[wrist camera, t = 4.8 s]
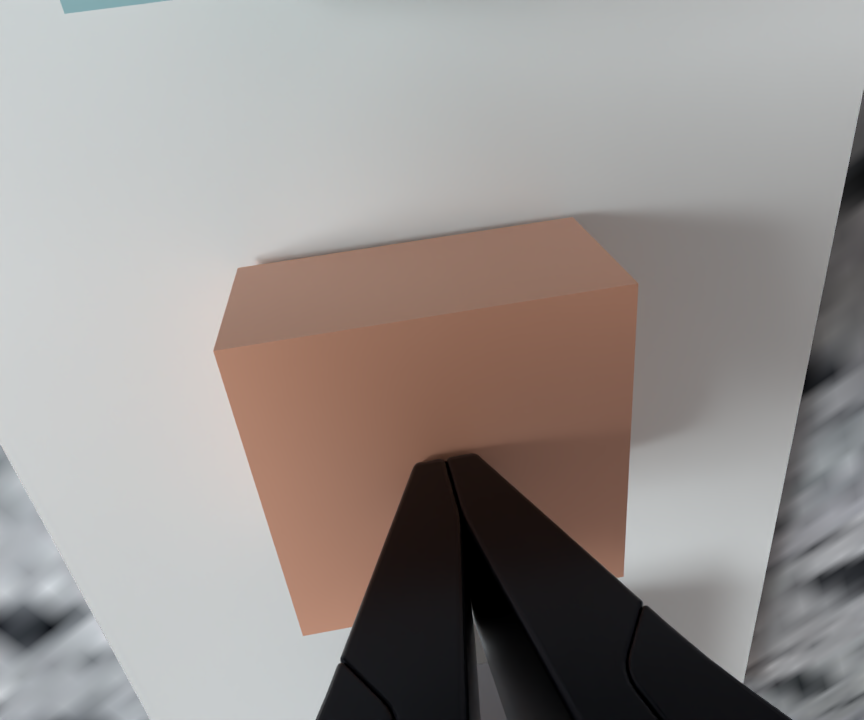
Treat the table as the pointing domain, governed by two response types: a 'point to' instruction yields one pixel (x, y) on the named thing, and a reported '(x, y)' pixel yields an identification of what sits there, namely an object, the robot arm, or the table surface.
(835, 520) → the table surface
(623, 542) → the terracotta button
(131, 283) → the button board
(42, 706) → the table surface
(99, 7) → the teal button
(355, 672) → the robot arm
